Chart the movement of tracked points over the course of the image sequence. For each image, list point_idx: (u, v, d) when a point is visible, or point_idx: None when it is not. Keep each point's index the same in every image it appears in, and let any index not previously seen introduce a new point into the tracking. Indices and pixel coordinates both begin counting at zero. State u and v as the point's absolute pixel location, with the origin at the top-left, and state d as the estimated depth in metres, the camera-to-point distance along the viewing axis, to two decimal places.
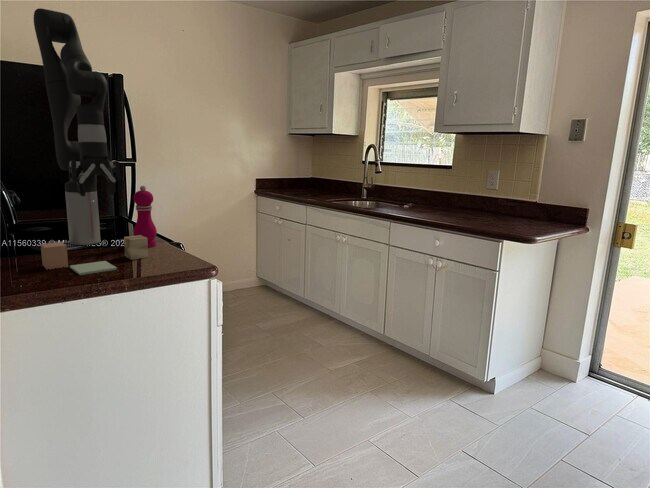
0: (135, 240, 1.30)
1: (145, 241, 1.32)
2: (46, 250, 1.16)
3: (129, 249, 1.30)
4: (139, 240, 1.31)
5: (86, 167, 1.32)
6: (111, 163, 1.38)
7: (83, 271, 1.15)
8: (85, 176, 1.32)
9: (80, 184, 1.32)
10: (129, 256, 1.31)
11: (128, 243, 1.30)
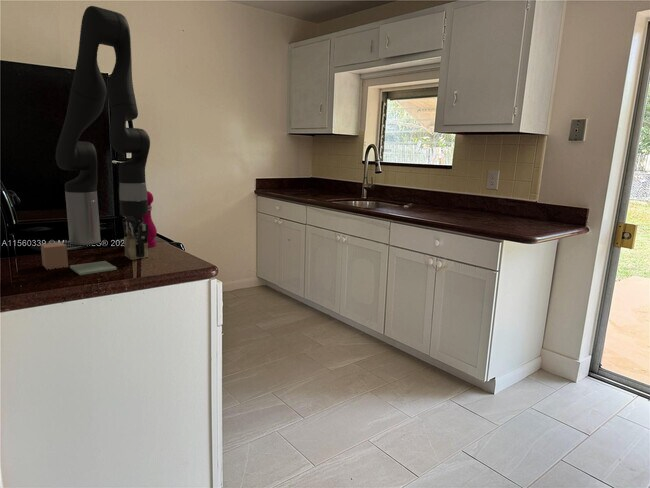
0: None
1: None
2: (46, 250, 1.16)
3: (129, 249, 1.30)
4: None
5: None
6: None
7: (83, 271, 1.15)
8: None
9: None
10: (129, 256, 1.31)
11: (128, 243, 1.30)
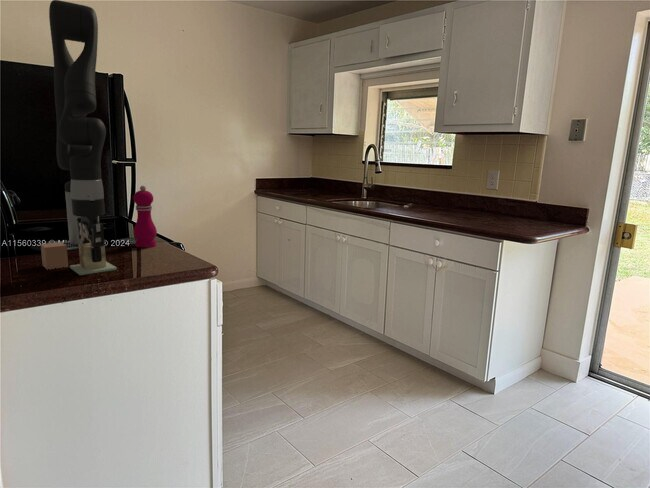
0: (90, 248, 1.16)
1: (103, 249, 1.18)
2: (46, 250, 1.16)
3: (83, 258, 1.16)
4: None
5: None
6: None
7: (83, 271, 1.15)
8: (100, 238, 1.17)
9: None
10: (84, 266, 1.17)
11: (82, 251, 1.16)
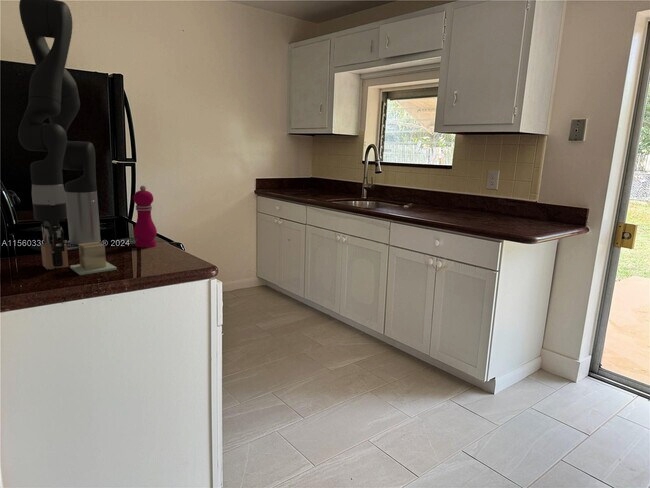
0: (90, 248, 1.16)
1: (103, 249, 1.18)
2: (46, 250, 1.16)
3: (83, 258, 1.16)
4: (95, 248, 1.17)
5: None
6: None
7: (83, 271, 1.15)
8: None
9: (60, 253, 1.18)
10: (84, 266, 1.17)
11: (82, 251, 1.16)
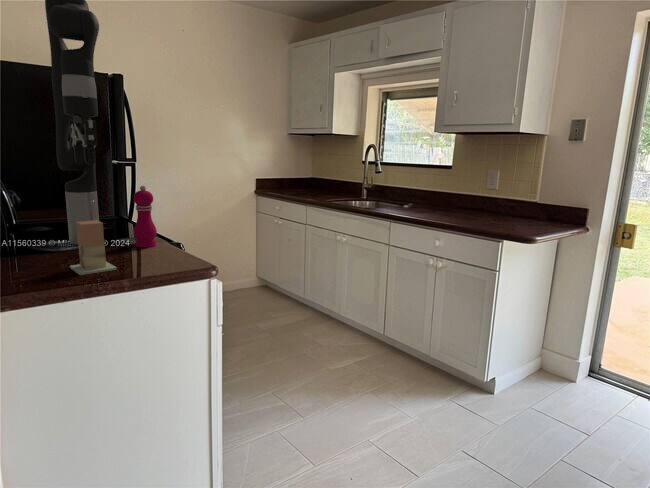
0: (90, 248, 1.16)
1: (103, 249, 1.18)
2: (83, 227, 1.14)
3: (83, 258, 1.16)
4: (95, 248, 1.17)
5: None
6: None
7: (83, 271, 1.15)
8: (94, 139, 1.11)
9: None
10: (84, 266, 1.17)
11: (82, 251, 1.16)
